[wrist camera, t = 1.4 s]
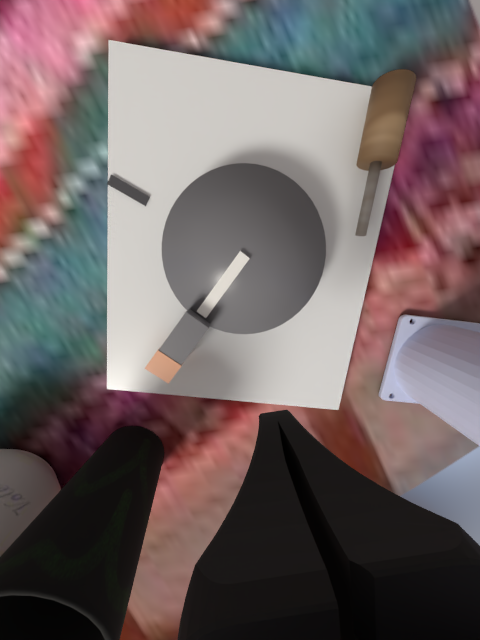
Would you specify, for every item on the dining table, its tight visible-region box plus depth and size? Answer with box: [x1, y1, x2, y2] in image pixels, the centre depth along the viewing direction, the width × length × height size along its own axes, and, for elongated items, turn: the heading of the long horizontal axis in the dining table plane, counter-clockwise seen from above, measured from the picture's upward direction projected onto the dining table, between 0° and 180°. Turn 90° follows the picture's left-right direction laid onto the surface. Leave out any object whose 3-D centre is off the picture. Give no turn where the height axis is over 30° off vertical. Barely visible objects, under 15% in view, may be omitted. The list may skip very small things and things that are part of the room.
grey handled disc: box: [145, 163, 326, 384], centre depth 16 cm, size 16×11×3 cm
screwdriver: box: [355, 69, 416, 236], centre depth 16 cm, size 9×2×2 cm, turn 173°
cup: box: [0, 426, 164, 640], centre depth 16 cm, size 8×8×12 cm
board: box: [107, 40, 395, 410], centre depth 18 cm, size 20×24×1 cm
